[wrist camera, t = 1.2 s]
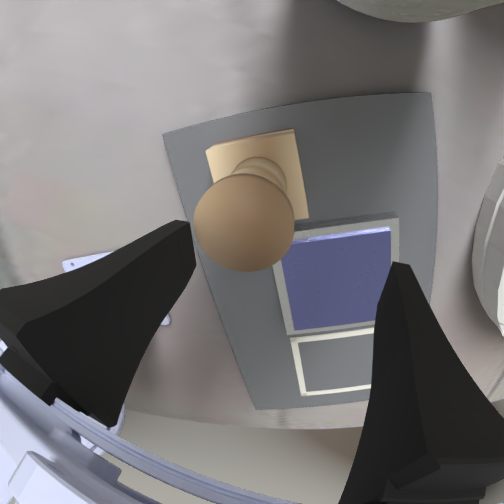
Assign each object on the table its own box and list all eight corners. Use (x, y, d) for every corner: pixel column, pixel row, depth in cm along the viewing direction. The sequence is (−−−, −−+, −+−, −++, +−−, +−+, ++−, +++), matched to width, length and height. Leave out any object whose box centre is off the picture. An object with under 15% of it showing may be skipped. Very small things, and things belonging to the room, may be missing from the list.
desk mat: (256, 405, 33) (255, 410, 33) (165, 133, 20) (161, 134, 19) (410, 388, 30) (411, 393, 29) (427, 92, 16) (431, 92, 16)
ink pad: (287, 325, 26) (286, 337, 25) (267, 228, 22) (265, 237, 20) (392, 311, 24) (396, 323, 23) (393, 211, 20) (400, 219, 19)
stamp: (234, 213, 22) (201, 287, 14) (216, 143, 19) (166, 180, 12) (306, 201, 20) (314, 274, 13) (293, 127, 18) (295, 154, 11)
